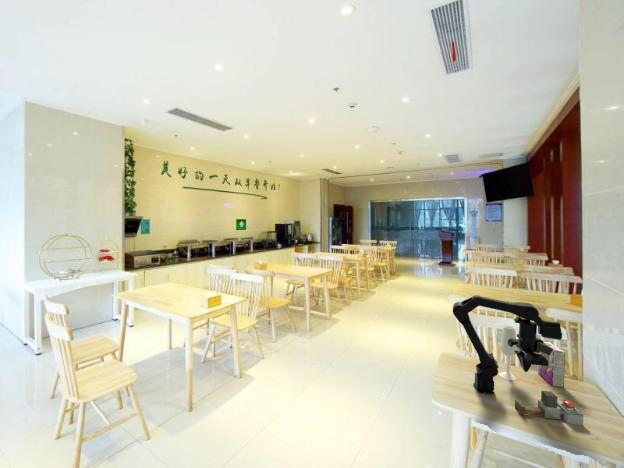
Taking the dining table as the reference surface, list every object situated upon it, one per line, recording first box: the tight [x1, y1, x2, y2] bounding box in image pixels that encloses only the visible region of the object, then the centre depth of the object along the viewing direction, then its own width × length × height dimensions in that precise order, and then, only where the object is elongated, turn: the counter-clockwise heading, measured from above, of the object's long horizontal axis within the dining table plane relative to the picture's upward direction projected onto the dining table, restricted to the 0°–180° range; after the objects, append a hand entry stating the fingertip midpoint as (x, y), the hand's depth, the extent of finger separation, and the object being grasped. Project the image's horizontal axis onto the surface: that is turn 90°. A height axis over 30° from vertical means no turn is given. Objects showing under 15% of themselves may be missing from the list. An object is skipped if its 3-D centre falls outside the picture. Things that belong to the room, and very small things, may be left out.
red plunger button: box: [562, 399, 576, 411], centre depth 105 cm, size 4×4×5 cm
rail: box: [514, 399, 563, 420], centre depth 106 cm, size 14×4×4 cm, turn 79°
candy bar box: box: [537, 340, 566, 388], centre depth 130 cm, size 11×5×16 cm, turn 168°
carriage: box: [537, 390, 561, 420], centre depth 106 cm, size 5×4×8 cm
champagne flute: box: [498, 324, 517, 381], centre depth 133 cm, size 7×7×24 cm
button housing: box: [557, 400, 585, 426], centre depth 105 cm, size 5×7×4 cm
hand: (525, 371), depth 115 cm, fingers closed
